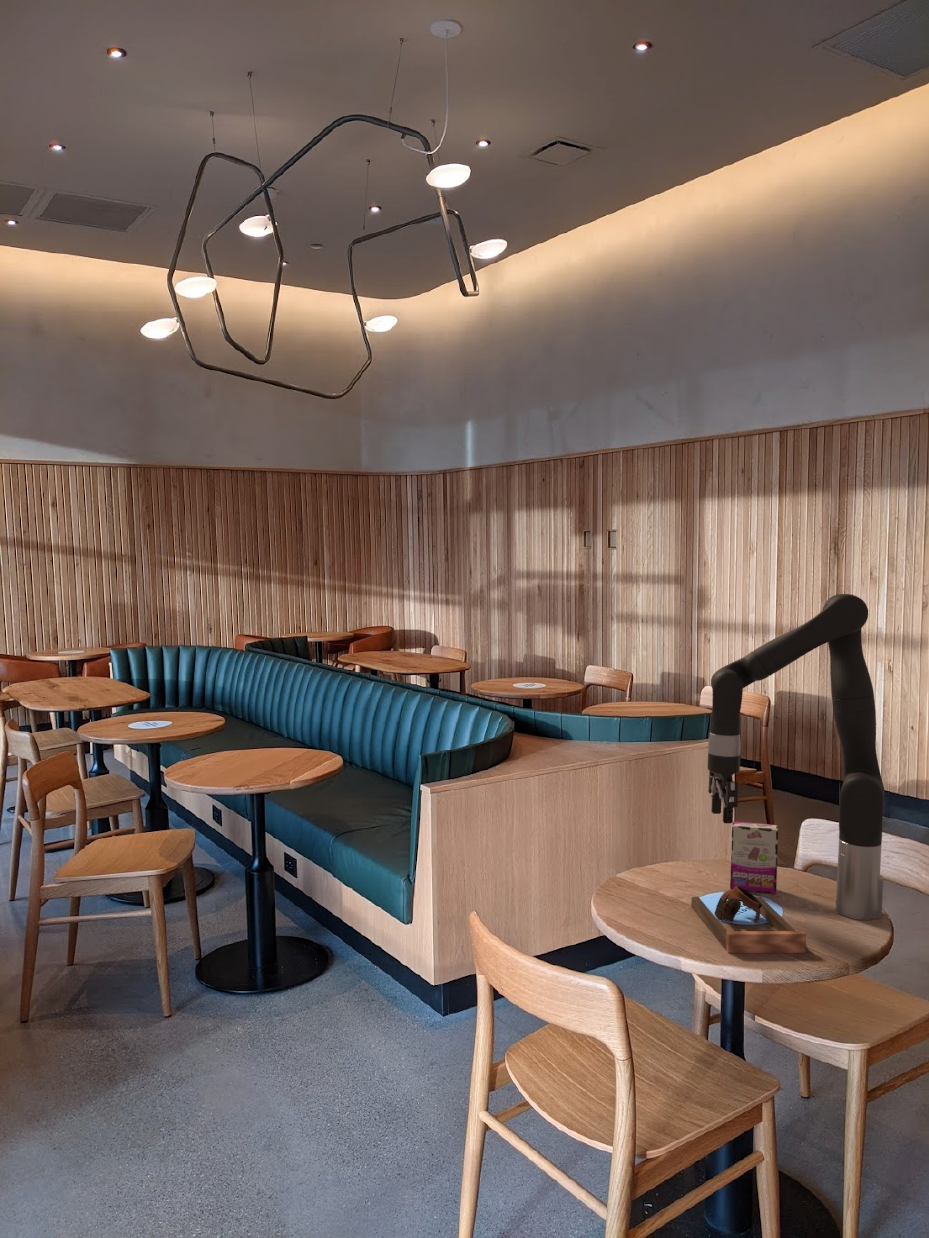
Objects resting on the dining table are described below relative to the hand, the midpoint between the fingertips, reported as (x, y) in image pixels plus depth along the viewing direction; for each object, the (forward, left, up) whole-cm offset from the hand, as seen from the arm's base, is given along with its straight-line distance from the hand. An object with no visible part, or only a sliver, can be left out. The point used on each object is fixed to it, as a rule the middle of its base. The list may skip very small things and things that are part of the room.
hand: (721, 818), depth 228 cm
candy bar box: (-11, -7, -20) cm, 24 cm away
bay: (0, +18, -20) cm, 27 cm away
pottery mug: (0, +13, -20) cm, 24 cm away
